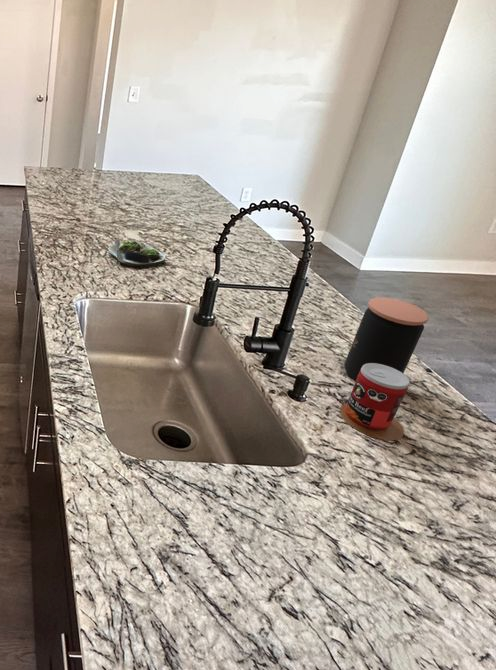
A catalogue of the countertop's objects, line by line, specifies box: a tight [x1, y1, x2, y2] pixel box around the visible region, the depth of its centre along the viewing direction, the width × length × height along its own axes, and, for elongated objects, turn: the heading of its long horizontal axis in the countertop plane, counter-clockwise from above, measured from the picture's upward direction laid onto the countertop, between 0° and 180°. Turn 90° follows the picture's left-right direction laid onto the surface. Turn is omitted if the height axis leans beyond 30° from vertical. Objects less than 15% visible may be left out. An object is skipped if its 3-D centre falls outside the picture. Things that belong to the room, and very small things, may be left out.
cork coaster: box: [339, 403, 405, 441], centre depth 109 cm, size 11×11×1 cm
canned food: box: [345, 363, 411, 430], centre depth 107 cm, size 8×8×11 cm
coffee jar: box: [344, 296, 430, 382], centre depth 119 cm, size 11×11×18 cm
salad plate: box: [108, 239, 166, 269], centre depth 179 cm, size 19×18×5 cm
